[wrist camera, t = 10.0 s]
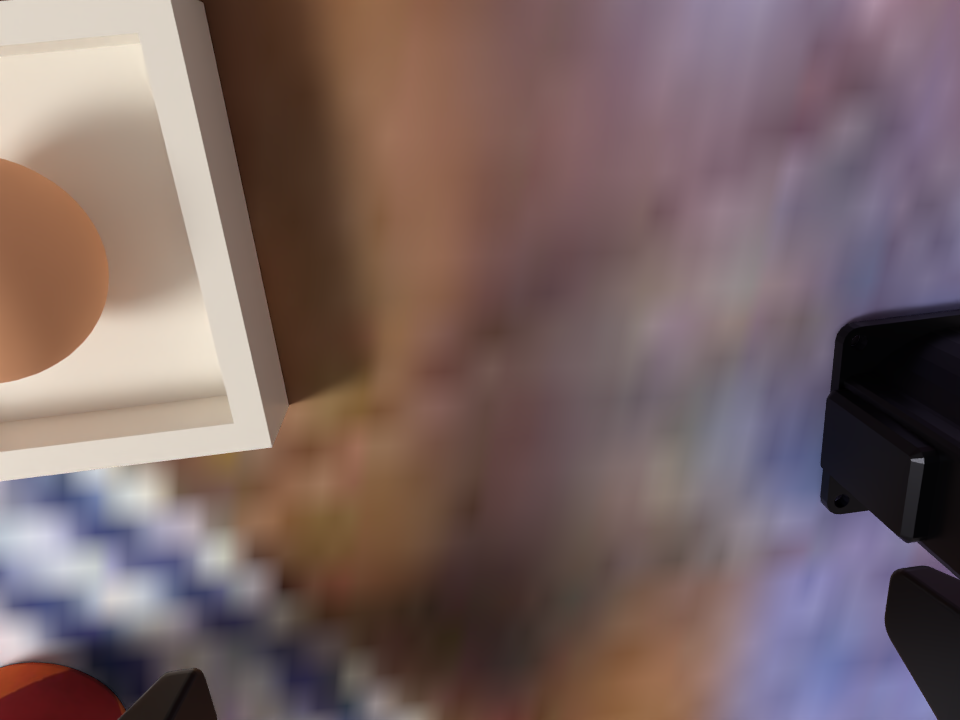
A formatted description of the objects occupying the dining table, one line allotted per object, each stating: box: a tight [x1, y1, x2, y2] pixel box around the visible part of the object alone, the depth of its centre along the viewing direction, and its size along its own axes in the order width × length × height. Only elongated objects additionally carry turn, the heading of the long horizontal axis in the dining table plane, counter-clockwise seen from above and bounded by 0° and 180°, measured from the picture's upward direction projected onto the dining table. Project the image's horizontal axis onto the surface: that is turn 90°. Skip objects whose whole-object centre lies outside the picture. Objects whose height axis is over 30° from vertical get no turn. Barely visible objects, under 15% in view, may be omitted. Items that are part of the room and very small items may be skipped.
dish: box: [0, 0, 289, 481], centre depth 17 cm, size 11×11×3 cm
